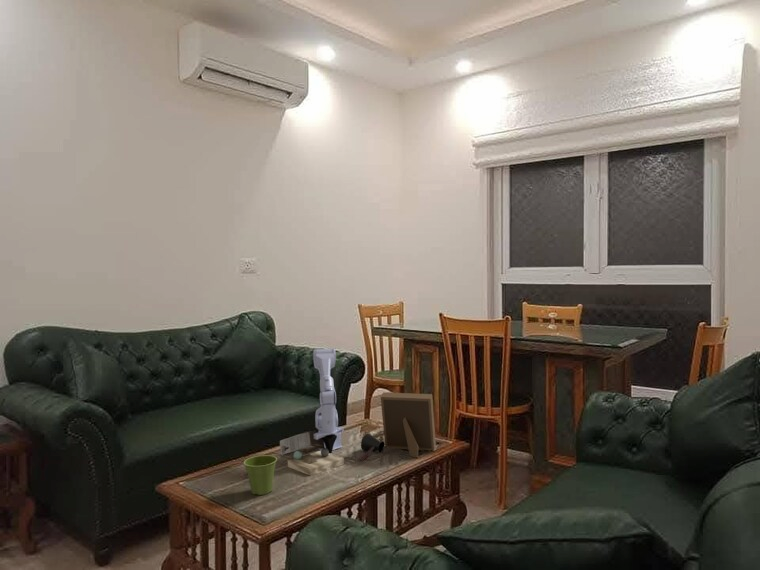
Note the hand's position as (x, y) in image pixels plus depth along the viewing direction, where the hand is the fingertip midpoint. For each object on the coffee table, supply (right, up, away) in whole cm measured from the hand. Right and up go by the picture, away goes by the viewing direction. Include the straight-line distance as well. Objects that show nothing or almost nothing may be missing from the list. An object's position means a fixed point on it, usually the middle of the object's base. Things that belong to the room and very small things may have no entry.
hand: (329, 452), depth 230 cm
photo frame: (+33, -3, +10) cm, 34 cm away
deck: (-5, -4, -5) cm, 8 cm away
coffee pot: (+15, -3, +8) cm, 17 cm away
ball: (-2, +1, -1) cm, 2 cm away
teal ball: (-13, 0, -4) cm, 13 cm away
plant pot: (-22, -5, -31) cm, 38 cm away
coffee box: (-18, 0, +4) cm, 19 cm away
